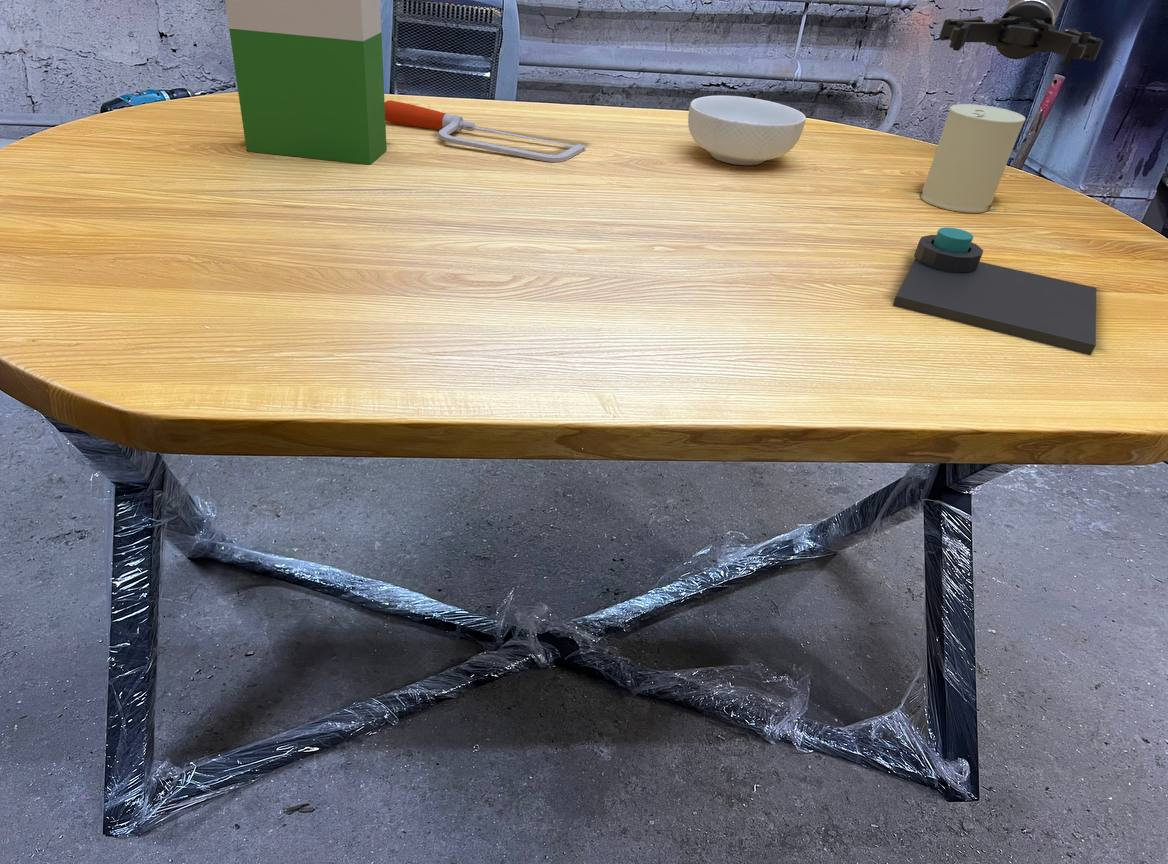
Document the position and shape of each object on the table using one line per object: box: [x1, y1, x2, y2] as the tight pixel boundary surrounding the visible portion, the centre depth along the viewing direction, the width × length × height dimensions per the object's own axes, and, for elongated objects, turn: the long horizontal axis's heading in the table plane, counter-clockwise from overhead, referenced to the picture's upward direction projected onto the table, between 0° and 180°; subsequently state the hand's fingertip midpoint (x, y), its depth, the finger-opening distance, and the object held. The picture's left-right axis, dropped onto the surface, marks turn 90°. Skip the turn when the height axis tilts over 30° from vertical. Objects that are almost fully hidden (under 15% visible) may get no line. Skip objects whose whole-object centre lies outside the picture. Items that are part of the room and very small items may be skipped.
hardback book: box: [224, 0, 388, 166], centre depth 108 cm, size 18×7×24 cm, turn 81°
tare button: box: [933, 227, 974, 253], centre depth 90 cm, size 4×4×2 cm
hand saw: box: [385, 99, 586, 163], centre depth 123 cm, size 33×3×10 cm
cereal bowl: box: [687, 95, 807, 166], centre depth 122 cm, size 17×17×7 cm
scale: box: [892, 234, 1097, 356], centre depth 85 cm, size 18×17×3 cm
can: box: [919, 103, 1026, 214], centre depth 110 cm, size 9×9×12 cm
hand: (1013, 46), depth 109 cm, fingers open, 13 cm apart
